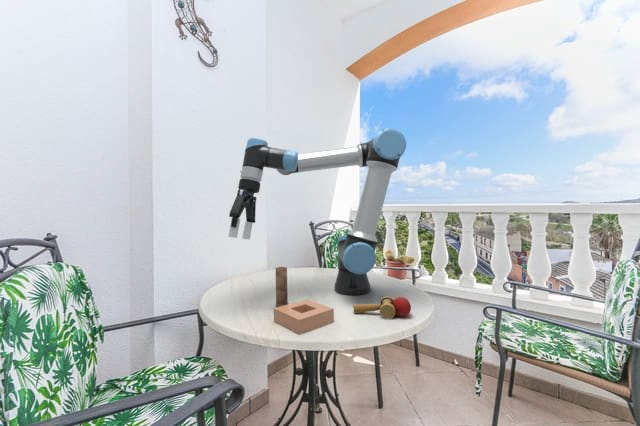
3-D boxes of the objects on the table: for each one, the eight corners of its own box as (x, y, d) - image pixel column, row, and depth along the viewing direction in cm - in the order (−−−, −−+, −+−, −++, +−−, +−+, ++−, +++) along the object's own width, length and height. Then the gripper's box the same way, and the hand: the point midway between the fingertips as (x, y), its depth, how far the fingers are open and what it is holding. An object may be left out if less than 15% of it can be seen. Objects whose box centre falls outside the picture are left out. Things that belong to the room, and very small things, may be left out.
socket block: (307, 311, 98) (306, 299, 98) (333, 321, 88) (333, 308, 88) (274, 321, 89) (273, 308, 89) (299, 334, 79) (299, 319, 79)
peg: (283, 305, 104) (282, 266, 104) (289, 308, 101) (289, 268, 101) (274, 307, 101) (273, 268, 101) (280, 310, 98) (279, 269, 98)
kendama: (354, 322, 91) (413, 318, 87) (351, 301, 92) (409, 296, 88) (356, 318, 98) (411, 313, 94) (354, 298, 99) (408, 293, 96)
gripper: (251, 186, 118) (241, 238, 116) (227, 169, 93) (214, 234, 91) (268, 189, 117) (259, 241, 115) (249, 172, 93) (237, 238, 90)
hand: (239, 238), depth 103 cm, fingers open, 13 cm apart
